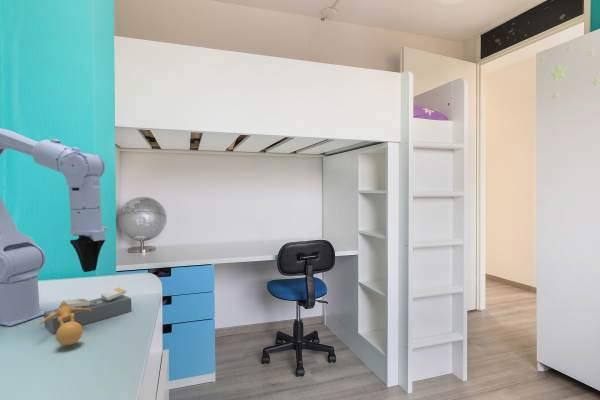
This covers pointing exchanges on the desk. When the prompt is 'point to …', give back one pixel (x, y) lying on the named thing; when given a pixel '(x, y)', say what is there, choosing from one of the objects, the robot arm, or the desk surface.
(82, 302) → the near rocker
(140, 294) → the desk surface
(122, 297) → the power strip
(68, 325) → the figurine
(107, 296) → the far rocker
